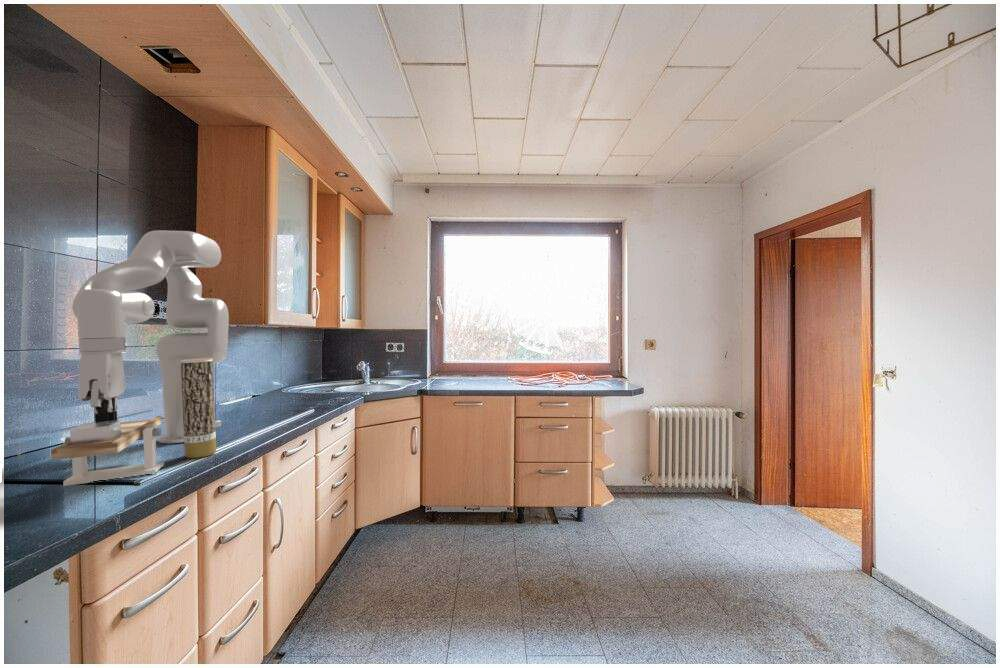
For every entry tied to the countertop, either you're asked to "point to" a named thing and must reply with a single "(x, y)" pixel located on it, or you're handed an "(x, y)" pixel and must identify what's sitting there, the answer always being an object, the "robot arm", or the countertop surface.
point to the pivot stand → (150, 466)
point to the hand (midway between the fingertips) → (106, 430)
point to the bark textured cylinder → (198, 407)
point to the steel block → (96, 432)
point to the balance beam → (128, 436)
